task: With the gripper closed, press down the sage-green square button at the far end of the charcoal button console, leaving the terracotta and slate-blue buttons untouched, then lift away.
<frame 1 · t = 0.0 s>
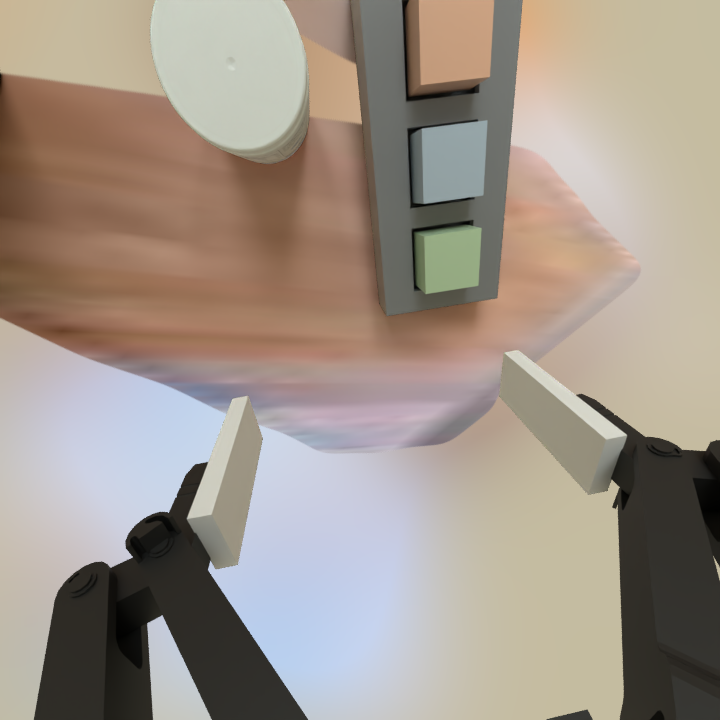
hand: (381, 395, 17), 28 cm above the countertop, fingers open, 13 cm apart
terracotta button: (447, 42, 28), point 6 cm above the countertop, slide at 0.0 cm
slate button: (446, 165, 32), point 6 cm above the countertop, slide at 0.0 cm
green button: (445, 258, 36), point 6 cm above the countertop, slide at 0.0 cm
console: (427, 168, 37), on the countertop
supplement tub: (262, 111, 33), on the countertop
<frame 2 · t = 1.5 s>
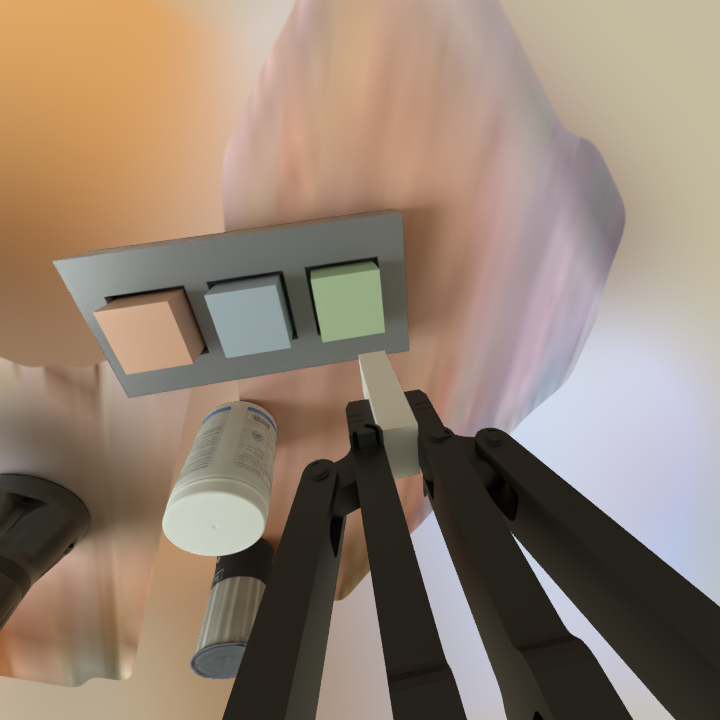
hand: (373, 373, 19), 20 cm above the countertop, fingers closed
terracotta button: (155, 330, 30), point 6 cm above the countertop, slide at 0.0 cm
slate button: (253, 315, 31), point 6 cm above the countertop, slide at 0.0 cm
green button: (347, 300, 31), point 6 cm above the countertop, slide at 0.0 cm
console: (261, 297, 36), on the countertop
milk frother: (263, 561, 58), on the countertop
supplement tub: (242, 426, 44), on the countertop
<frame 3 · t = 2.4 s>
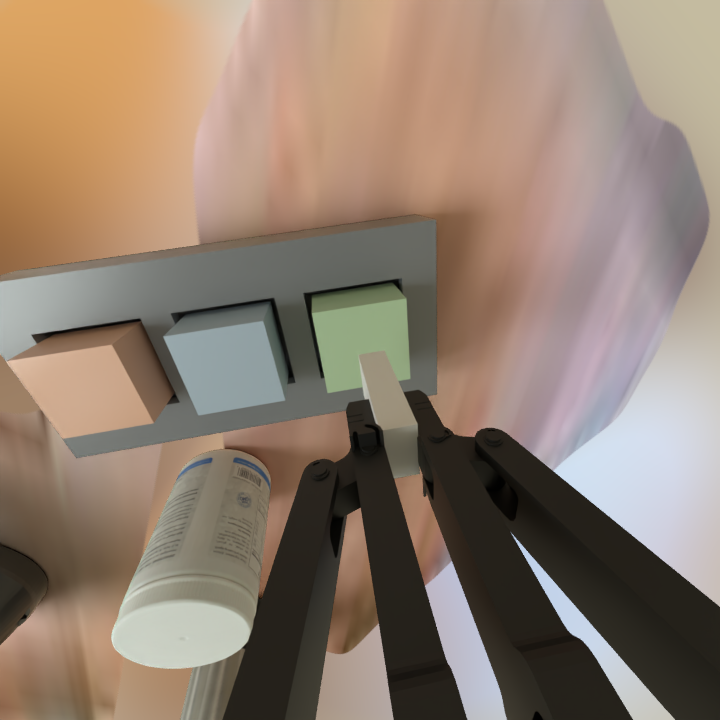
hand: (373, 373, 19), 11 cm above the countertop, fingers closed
terracotta button: (103, 378, 22), point 6 cm above the countertop, slide at 0.0 cm
slate button: (235, 357, 23), point 6 cm above the countertop, slide at 0.0 cm
green button: (360, 336, 23), point 6 cm above the countertop, slide at 0.0 cm
console: (249, 325, 28), on the countertop
milk frother: (257, 617, 50), on the countertop
supplement tub: (229, 476, 36), on the countertop
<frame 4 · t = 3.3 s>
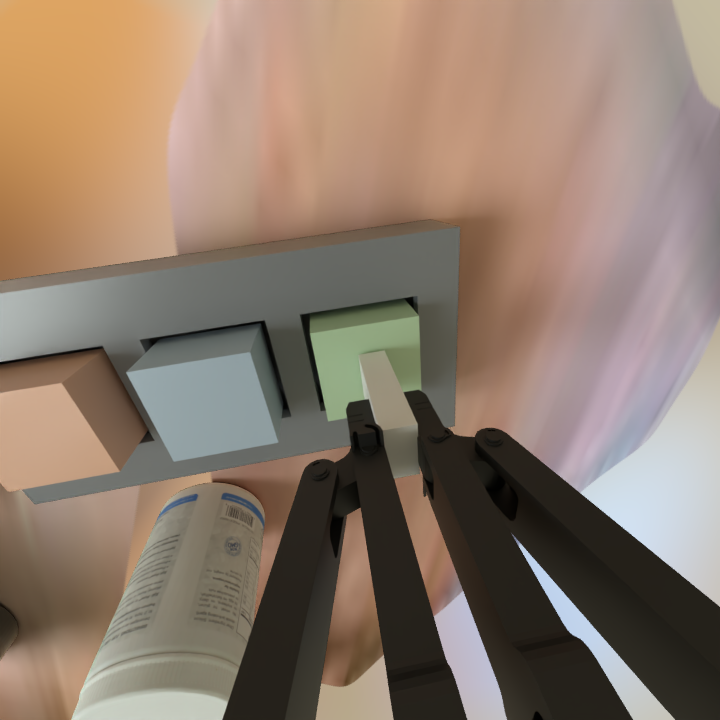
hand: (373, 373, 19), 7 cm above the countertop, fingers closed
terracotta button: (59, 417, 19), point 6 cm above the countertop, slide at 0.0 cm
slate button: (218, 390, 19), point 6 cm above the countertop, slide at 0.0 cm
green button: (365, 356, 21), point 5 cm above the countertop, slide at 1.1 cm, touching gripper
console: (238, 347, 24), on the countertop
supplement tub: (218, 510, 32), on the countertop
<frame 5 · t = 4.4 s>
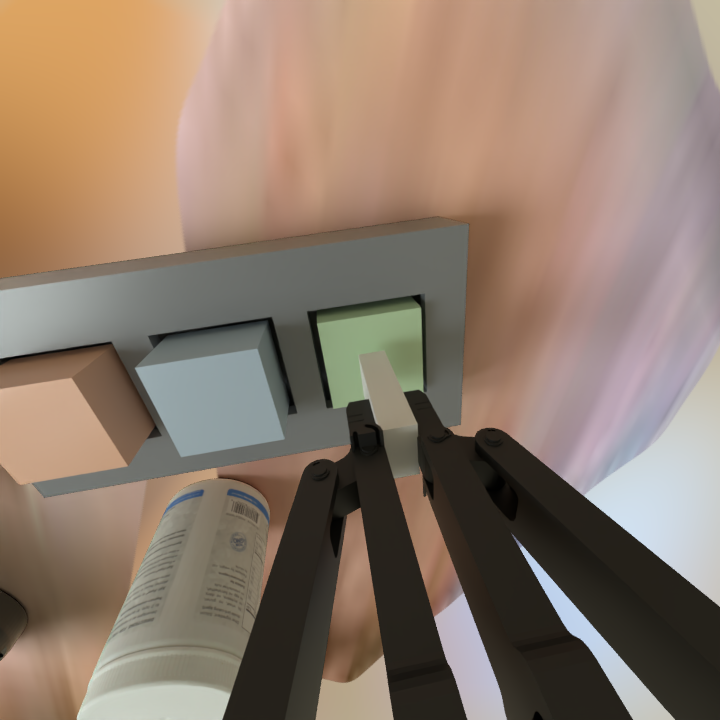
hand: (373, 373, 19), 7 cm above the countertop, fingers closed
terracotta button: (68, 412, 19), point 6 cm above the countertop, slide at 0.0 cm
slate button: (225, 386, 19), point 6 cm above the countertop, slide at 0.0 cm
green button: (369, 347, 22), point 4 cm above the countertop, slide at 2.1 cm
console: (244, 344, 24), on the countertop
supplement tub: (223, 506, 32), on the countertop
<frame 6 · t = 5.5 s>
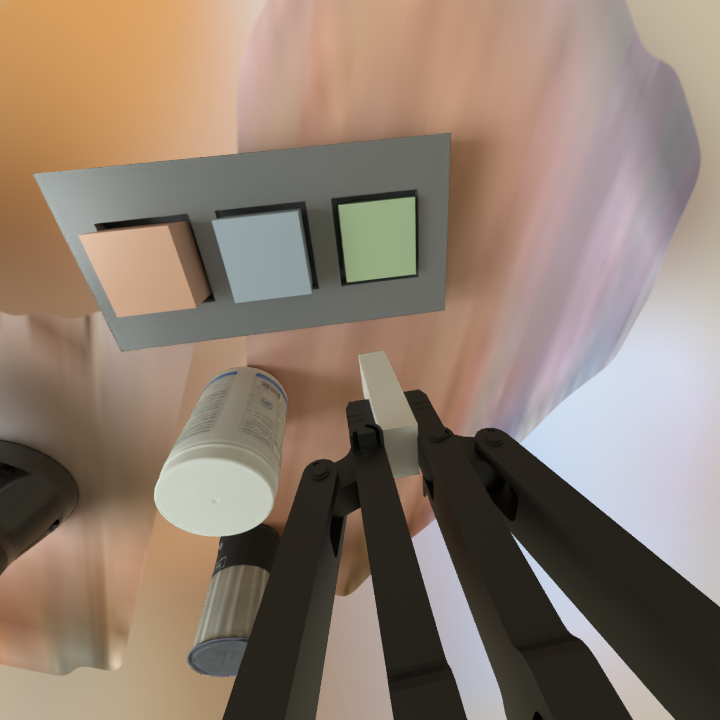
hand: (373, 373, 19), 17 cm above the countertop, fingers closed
terracotta button: (153, 267, 25), point 6 cm above the countertop, slide at 0.0 cm
slate button: (268, 254, 26), point 6 cm above the countertop, slide at 0.0 cm
green button: (375, 238, 28), point 4 cm above the countertop, slide at 2.1 cm
console: (277, 243, 31), on the countertop
milk frother: (268, 550, 53), on the countertop
supplement tub: (249, 397, 39), on the countertop
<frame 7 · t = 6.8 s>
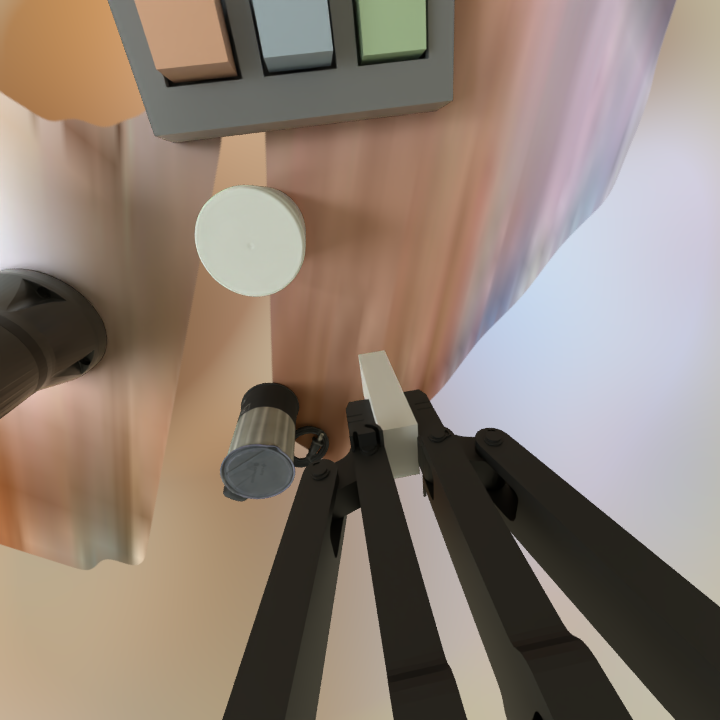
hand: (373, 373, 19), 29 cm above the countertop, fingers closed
terracotta button: (187, 27, 28), point 6 cm above the countertop, slide at 0.0 cm
slate button: (292, 17, 28), point 6 cm above the countertop, slide at 0.0 cm
green button: (388, 18, 31), point 4 cm above the countertop, slide at 2.1 cm
console: (295, 44, 34), on the countertop
milk frother: (287, 419, 56), on the countertop
supplement tub: (268, 228, 41), on the countertop
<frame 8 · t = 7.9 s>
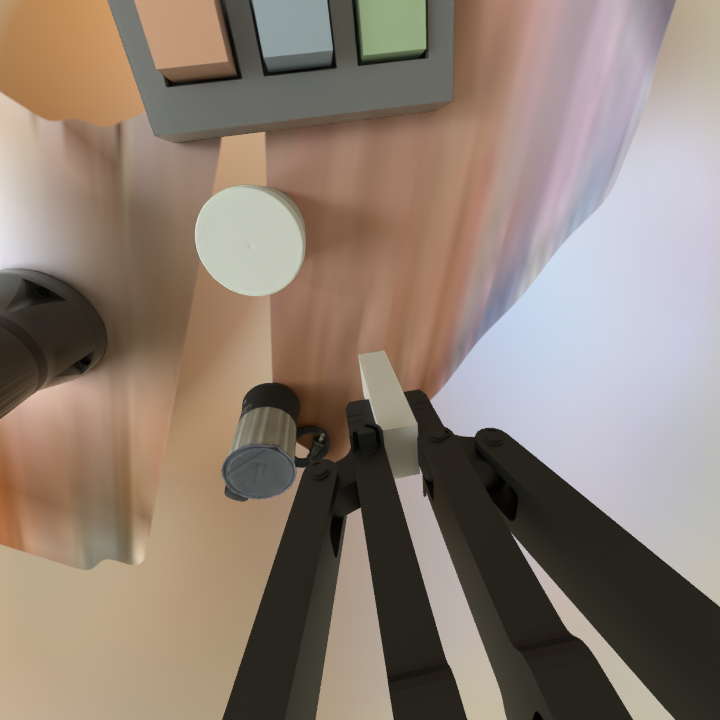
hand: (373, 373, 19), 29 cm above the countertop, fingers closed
terracotta button: (187, 27, 28), point 6 cm above the countertop, slide at 0.0 cm
slate button: (292, 16, 28), point 6 cm above the countertop, slide at 0.0 cm
green button: (388, 17, 31), point 4 cm above the countertop, slide at 2.1 cm
console: (295, 44, 34), on the countertop
milk frother: (288, 419, 56), on the countertop
supplement tub: (268, 228, 41), on the countertop
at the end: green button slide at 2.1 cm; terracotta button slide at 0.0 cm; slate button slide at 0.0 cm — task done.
